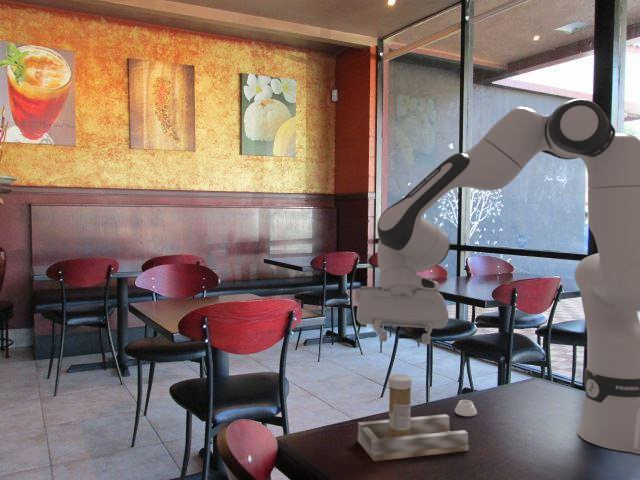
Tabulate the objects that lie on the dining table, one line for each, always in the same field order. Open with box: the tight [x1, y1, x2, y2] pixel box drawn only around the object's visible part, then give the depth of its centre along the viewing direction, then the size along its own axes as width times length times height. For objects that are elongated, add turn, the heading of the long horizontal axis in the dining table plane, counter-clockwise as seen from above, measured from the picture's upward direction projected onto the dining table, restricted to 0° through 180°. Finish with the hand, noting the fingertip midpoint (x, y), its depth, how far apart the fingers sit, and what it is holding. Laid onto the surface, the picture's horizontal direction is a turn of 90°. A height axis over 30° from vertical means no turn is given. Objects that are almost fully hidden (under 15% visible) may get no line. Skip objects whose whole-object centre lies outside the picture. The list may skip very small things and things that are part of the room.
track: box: [357, 413, 470, 462], centre depth 114 cm, size 20×10×4 cm, turn 104°
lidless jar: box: [454, 399, 478, 417], centre depth 133 cm, size 5×3×5 cm
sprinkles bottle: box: [388, 374, 413, 438], centre depth 113 cm, size 5×5×14 cm
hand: (405, 341), depth 120 cm, fingers open, 8 cm apart
